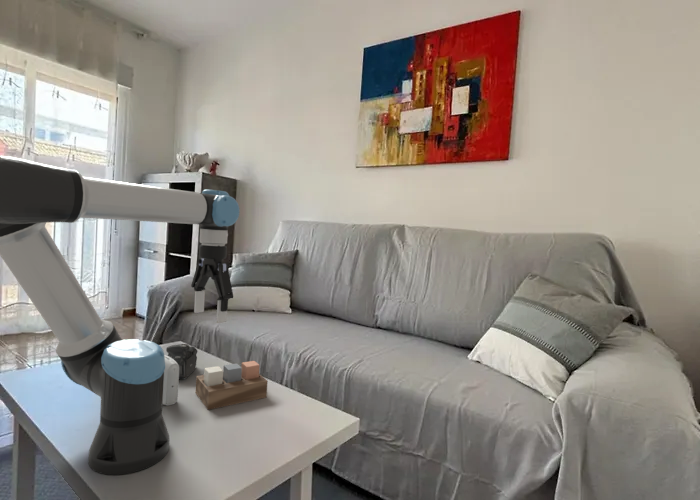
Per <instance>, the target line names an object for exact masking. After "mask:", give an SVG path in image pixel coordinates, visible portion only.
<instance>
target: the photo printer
mask: <svg viewBox="0 0 700 500" xmlns="http://www.w3.org/2000/svg"><path fill="white" fill-rule="evenodd" d="M167 355H168V354H167ZM167 355H166V354H164V358H165V370H164V385H163V404H162V406H163V405H164V406H171V405H174V404H176V403H177V401H178V397H179V396H178V395H179V381H180V380H179V365H178V364H177V362H176V361H175V360H174V359H172V358H171V357H169V356H167Z"/></svg>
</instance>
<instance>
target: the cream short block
mask: <svg viewBox="0 0 700 500" xmlns="http://www.w3.org/2000/svg"><path fill="white" fill-rule="evenodd" d="M203 375H204V384H205V385H206V386H207V387H208V386H213V385H219V384H222V382H223V369H222V368H221V367H220V366H219V365H217V366H210V367H205V368H204V372H203Z"/></svg>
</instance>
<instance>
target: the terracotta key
mask: <svg viewBox="0 0 700 500" xmlns="http://www.w3.org/2000/svg"><path fill="white" fill-rule="evenodd" d="M240 367H242V374H241V376H242V377H243V378H244V379H245V380H247V379H253V378H258V377H259V374H260V364H259V363H258V362H257V361H255V360H250V361H244V362H241V365H240Z"/></svg>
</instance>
